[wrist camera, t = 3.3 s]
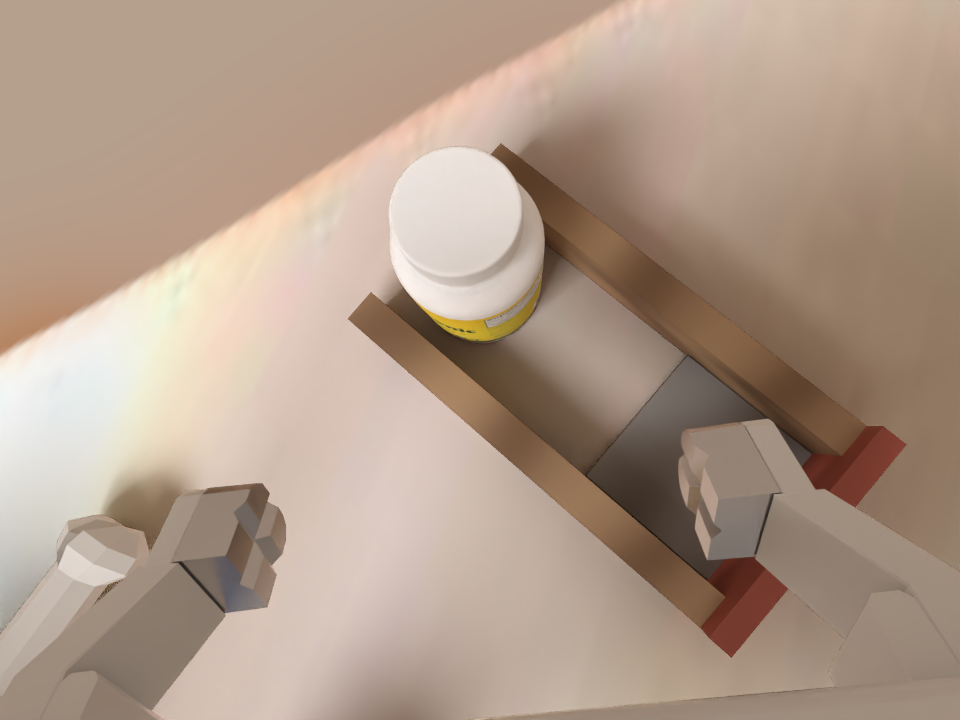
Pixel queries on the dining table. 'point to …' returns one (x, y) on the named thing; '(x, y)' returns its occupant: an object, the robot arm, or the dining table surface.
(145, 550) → the chicken leg
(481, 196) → the supplement bottle
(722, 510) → the robot arm
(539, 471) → the guide channel
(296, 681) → the dining table surface
